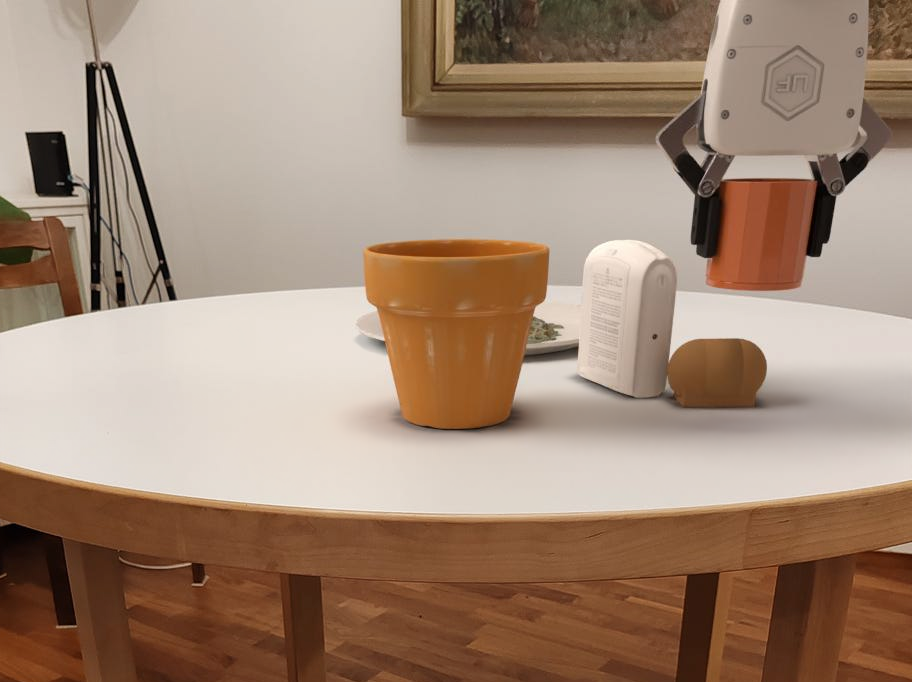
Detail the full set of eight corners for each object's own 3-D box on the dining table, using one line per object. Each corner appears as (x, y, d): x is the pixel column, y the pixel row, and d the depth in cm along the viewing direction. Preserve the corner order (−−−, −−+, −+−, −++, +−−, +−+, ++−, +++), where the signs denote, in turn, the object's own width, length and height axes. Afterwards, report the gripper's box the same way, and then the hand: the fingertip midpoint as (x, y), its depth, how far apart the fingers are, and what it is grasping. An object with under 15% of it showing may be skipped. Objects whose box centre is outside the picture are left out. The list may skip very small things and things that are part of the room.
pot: (785, 278, 75) (799, 177, 72) (814, 290, 69) (832, 181, 66) (696, 278, 76) (707, 178, 72) (718, 291, 69) (730, 182, 66)
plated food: (655, 324, 117) (657, 294, 116) (566, 375, 94) (567, 338, 92) (432, 309, 130) (432, 282, 128) (304, 350, 106) (302, 318, 105)
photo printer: (673, 395, 86) (688, 244, 80) (631, 401, 84) (644, 246, 79) (609, 373, 94) (619, 234, 89) (570, 377, 93) (577, 236, 87)
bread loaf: (752, 393, 86) (761, 332, 84) (770, 408, 82) (779, 344, 79) (659, 394, 86) (664, 333, 84) (671, 409, 82) (677, 345, 79)
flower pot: (426, 389, 89) (424, 235, 83) (570, 407, 83) (579, 241, 77) (335, 425, 79) (325, 252, 73) (492, 449, 72) (495, 261, 66)
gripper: (673, -47, 60) (646, 262, 68) (958, -51, 60) (898, 260, 68) (650, -29, 67) (628, 251, 75) (907, -32, 67) (857, 249, 75)
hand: (757, 253), depth 71 cm, fingers closed on pot, 6 cm apart
